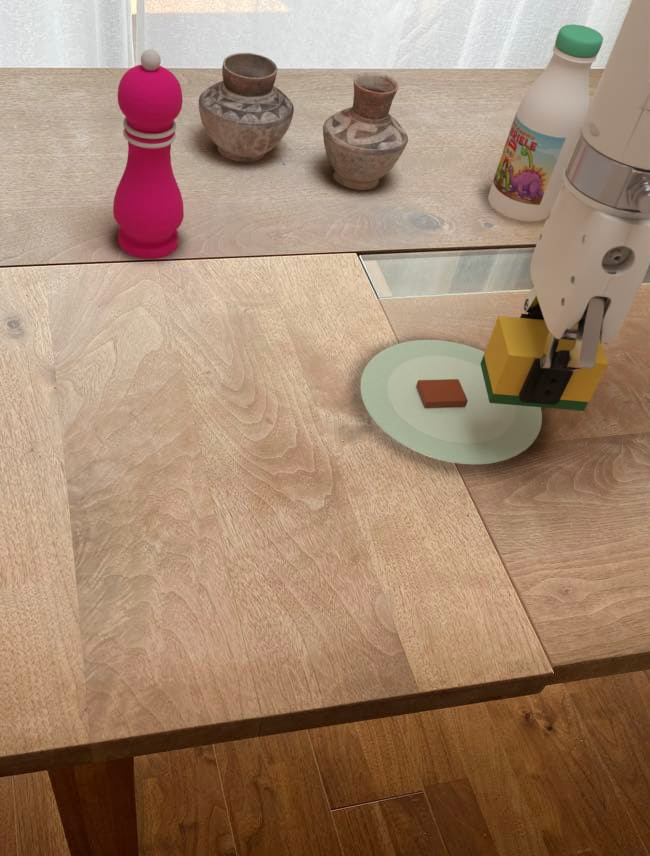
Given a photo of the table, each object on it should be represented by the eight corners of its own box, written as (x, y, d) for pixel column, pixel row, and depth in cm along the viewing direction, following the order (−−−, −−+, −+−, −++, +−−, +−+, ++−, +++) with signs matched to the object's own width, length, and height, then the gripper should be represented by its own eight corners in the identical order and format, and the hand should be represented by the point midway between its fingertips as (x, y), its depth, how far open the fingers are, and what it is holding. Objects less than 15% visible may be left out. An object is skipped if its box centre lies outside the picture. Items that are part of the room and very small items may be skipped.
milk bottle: (519, 187, 111) (582, 12, 95) (562, 219, 107) (635, 42, 91) (472, 199, 108) (529, 21, 92) (515, 232, 104) (582, 52, 88)
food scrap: (456, 385, 83) (458, 378, 83) (465, 407, 81) (468, 400, 81) (415, 386, 83) (417, 379, 82) (424, 408, 81) (426, 401, 80)
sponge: (571, 371, 76) (594, 324, 73) (584, 411, 73) (609, 364, 69) (480, 363, 76) (498, 315, 72) (489, 403, 73) (509, 355, 69)
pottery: (387, 215, 103) (411, 113, 94) (183, 166, 106) (187, 62, 97) (403, 170, 110) (427, 70, 101) (211, 125, 113) (218, 24, 104)
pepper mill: (196, 251, 95) (208, 55, 80) (145, 276, 91) (147, 75, 76) (150, 221, 98) (154, 26, 82) (99, 244, 94) (93, 44, 79)
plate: (521, 357, 89) (525, 347, 88) (553, 481, 78) (558, 472, 77) (353, 341, 88) (355, 331, 87) (362, 464, 77) (365, 455, 76)
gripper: (719, 246, 55) (598, 454, 69) (645, 116, 65) (553, 319, 79) (601, 234, 54) (503, 446, 68) (546, 105, 65) (471, 311, 79)
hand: (531, 376), depth 74 cm, fingers closed on sponge, 4 cm apart
